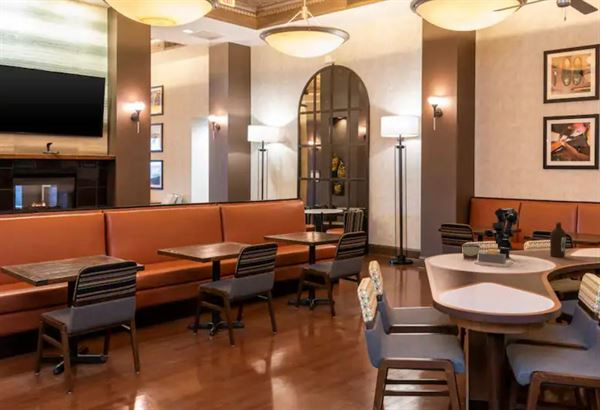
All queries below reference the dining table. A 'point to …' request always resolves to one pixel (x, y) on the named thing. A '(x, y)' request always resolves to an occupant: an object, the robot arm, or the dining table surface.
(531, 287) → the dining table surface
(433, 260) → the dining table surface
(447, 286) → the dining table surface
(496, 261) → the grey block on base
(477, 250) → the food container
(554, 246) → the olive oil
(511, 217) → the robot arm
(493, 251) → the amber key
